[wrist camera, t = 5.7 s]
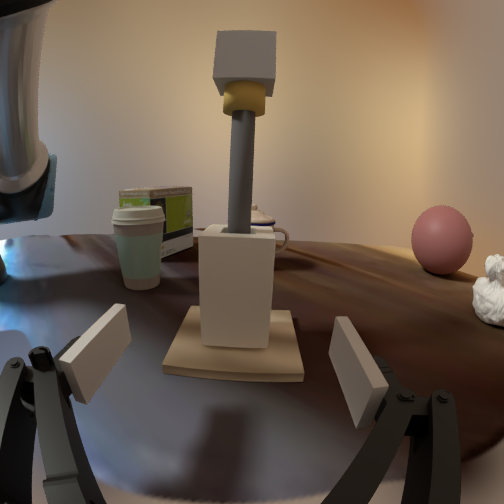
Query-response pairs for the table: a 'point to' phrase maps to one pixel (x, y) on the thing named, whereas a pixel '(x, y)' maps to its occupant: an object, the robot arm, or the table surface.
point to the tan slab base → (236, 354)
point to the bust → (490, 292)
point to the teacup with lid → (267, 224)
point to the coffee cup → (139, 244)
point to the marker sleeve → (236, 286)
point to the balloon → (442, 240)
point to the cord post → (243, 108)
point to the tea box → (167, 213)
